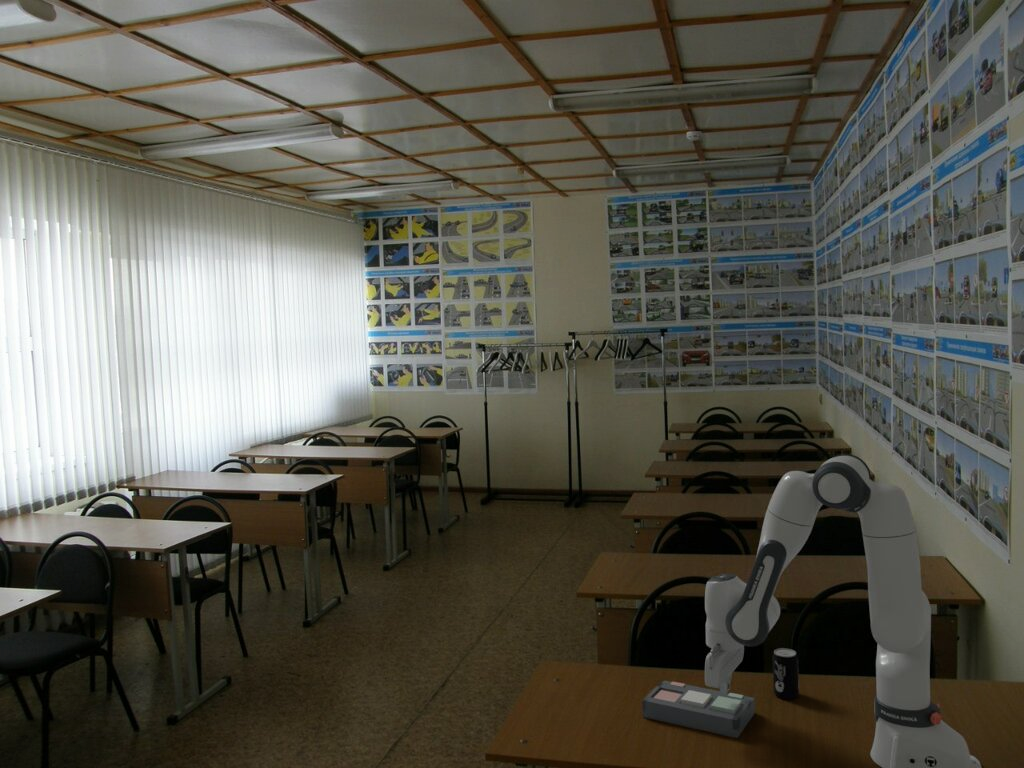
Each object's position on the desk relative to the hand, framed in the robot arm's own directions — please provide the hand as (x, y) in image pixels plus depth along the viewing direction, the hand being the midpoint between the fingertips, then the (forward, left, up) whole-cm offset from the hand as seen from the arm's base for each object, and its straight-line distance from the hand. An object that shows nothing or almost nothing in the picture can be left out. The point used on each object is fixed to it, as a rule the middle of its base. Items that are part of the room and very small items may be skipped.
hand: (725, 691), depth 209 cm
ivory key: (+8, 0, -5) cm, 9 cm away
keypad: (+8, -2, -8) cm, 12 cm away
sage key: (0, 0, -5) cm, 5 cm away
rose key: (+16, 0, -6) cm, 17 cm away
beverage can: (-9, -23, -9) cm, 26 cm away
